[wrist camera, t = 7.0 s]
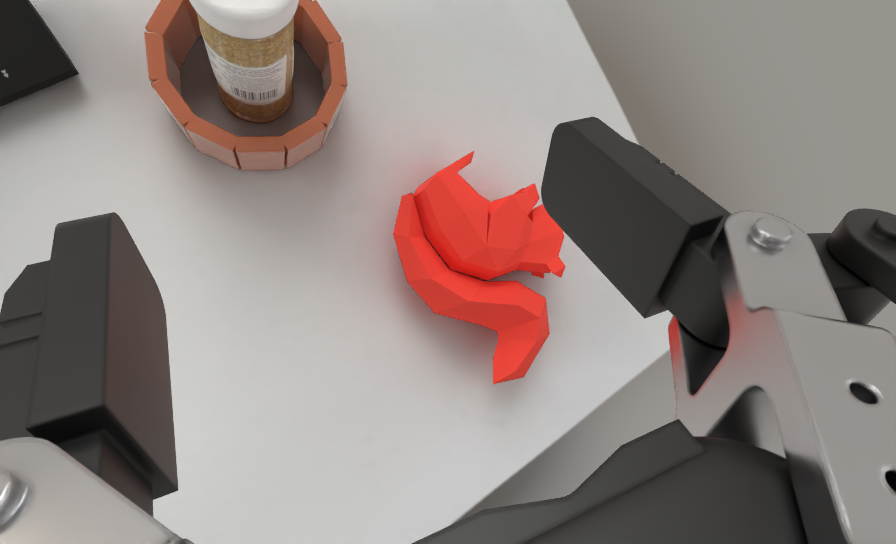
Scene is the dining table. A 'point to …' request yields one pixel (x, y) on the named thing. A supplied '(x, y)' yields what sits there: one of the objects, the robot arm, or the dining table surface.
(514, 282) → the animal figurine
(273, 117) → the sprinkles bottle
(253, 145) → the holder
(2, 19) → the remote control
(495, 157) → the dining table surface
